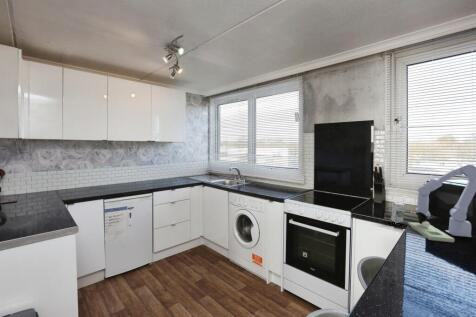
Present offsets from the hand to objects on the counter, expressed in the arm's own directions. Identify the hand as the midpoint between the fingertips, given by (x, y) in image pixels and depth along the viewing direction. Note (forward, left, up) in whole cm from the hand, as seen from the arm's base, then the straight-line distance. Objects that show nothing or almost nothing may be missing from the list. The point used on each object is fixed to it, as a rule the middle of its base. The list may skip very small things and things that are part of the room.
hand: (421, 224), depth 151 cm
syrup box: (+12, -6, -3) cm, 14 cm away
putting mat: (0, +9, -3) cm, 9 cm away
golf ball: (0, +5, +1) cm, 5 cm away
